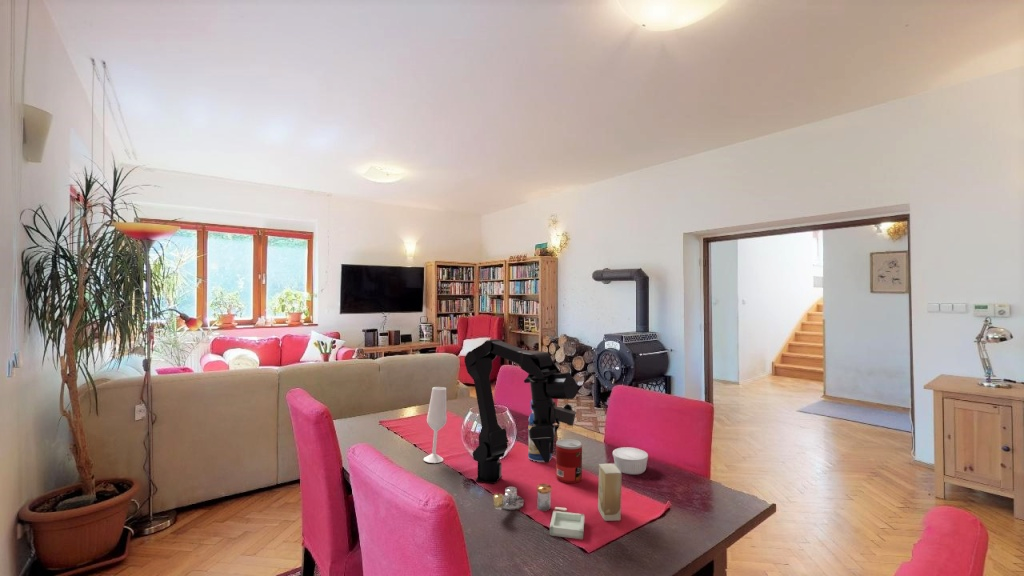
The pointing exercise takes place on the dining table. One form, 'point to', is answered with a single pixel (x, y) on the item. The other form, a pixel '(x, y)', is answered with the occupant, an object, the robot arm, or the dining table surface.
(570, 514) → the tray
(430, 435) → the dining table surface
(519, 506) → the crank base
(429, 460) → the champagne flute
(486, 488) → the dining table surface
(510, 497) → the crank
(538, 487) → the glass jar
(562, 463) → the canned food
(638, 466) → the ramekin
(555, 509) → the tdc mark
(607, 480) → the skincare box
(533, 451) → the beverage bottle
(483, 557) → the dining table surface
